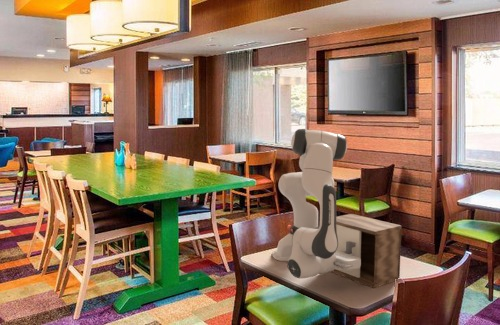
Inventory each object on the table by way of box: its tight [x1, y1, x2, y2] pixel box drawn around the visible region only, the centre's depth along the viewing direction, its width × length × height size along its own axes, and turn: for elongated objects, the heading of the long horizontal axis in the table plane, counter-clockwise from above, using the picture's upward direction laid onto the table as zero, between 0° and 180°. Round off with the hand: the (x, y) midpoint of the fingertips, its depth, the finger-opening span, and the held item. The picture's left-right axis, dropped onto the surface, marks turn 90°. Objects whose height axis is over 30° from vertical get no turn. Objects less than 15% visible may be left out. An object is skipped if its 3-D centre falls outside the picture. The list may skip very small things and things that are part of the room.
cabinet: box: [331, 213, 402, 289], centre depth 196 cm, size 16×26×22 cm, turn 36°
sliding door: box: [335, 224, 361, 278], centre depth 192 cm, size 5×13×19 cm, turn 35°
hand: (350, 253), depth 188 cm, fingers closed on sliding door, 2 cm apart
